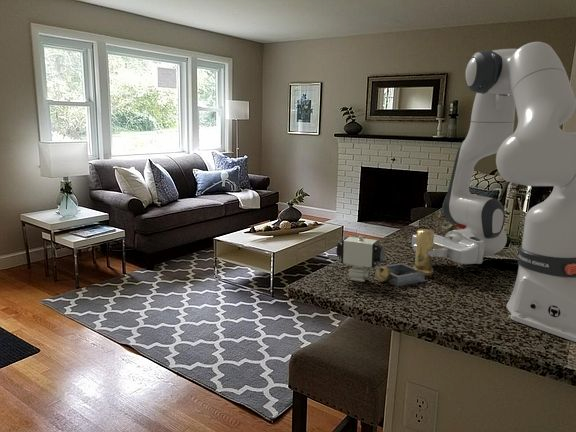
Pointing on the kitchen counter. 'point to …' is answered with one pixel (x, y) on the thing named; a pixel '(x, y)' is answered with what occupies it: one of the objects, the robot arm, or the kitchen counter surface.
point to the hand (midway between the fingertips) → (421, 250)
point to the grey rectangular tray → (390, 275)
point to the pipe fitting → (424, 251)
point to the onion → (451, 227)
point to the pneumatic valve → (360, 256)
